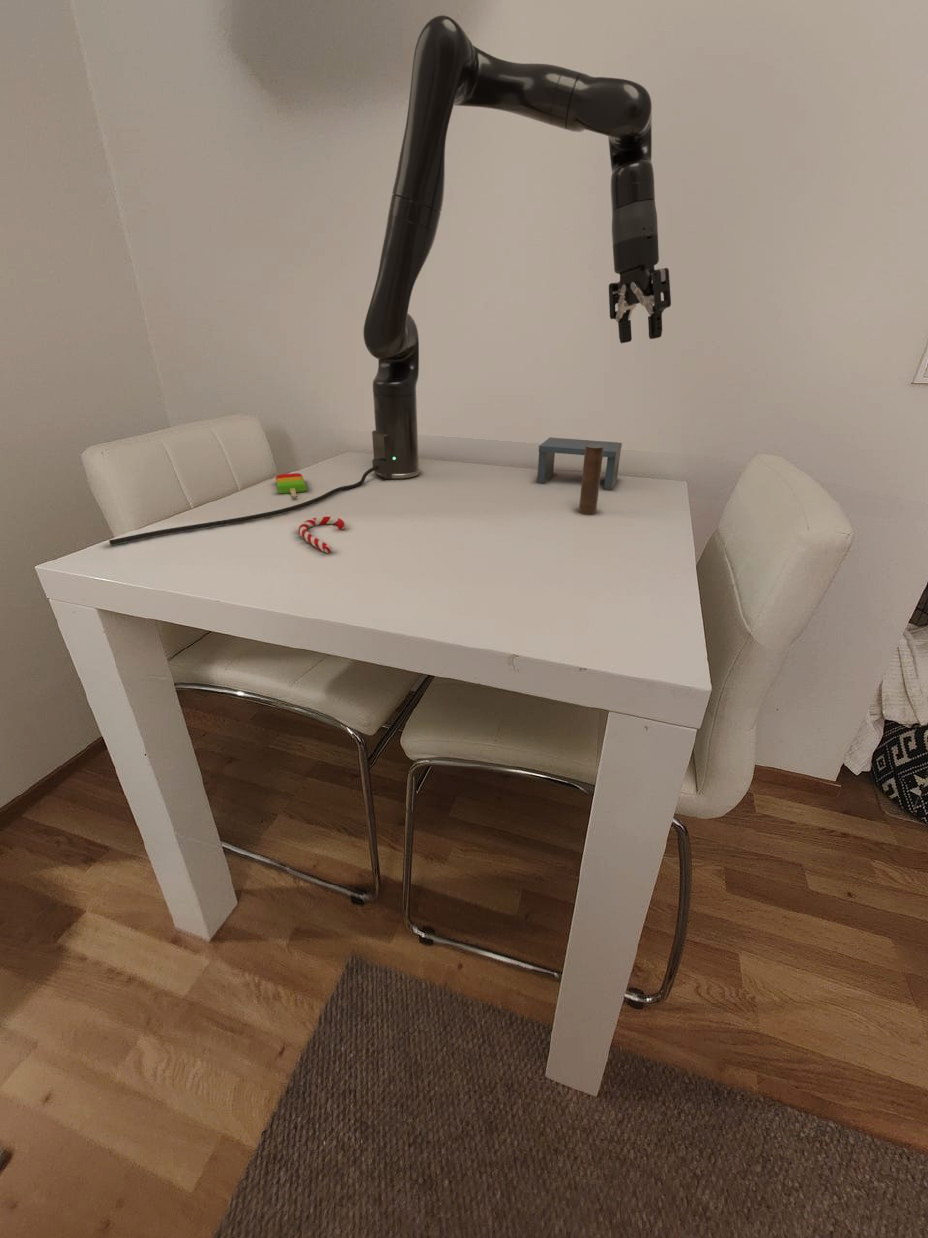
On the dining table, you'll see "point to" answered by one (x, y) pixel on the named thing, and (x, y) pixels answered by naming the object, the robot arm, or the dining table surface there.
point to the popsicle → (290, 483)
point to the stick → (591, 478)
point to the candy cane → (314, 522)
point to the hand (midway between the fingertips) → (640, 340)
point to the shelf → (577, 448)
